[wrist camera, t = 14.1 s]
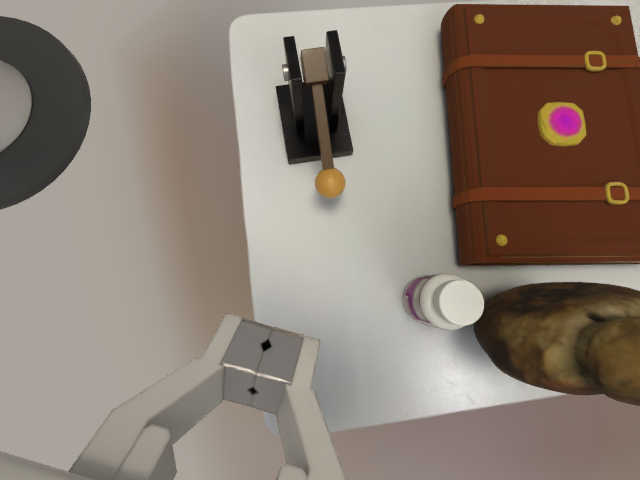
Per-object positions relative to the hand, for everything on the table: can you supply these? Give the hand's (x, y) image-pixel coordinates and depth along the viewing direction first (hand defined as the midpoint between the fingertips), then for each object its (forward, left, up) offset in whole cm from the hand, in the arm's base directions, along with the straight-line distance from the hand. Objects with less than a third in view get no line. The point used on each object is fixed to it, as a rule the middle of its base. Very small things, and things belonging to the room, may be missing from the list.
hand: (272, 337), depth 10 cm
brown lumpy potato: (+23, -6, -27) cm, 36 cm away
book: (+32, +15, -27) cm, 45 cm away
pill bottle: (+14, -2, -27) cm, 31 cm away
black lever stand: (+5, +22, -27) cm, 35 cm away
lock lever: (+5, +17, -21) cm, 28 cm away
